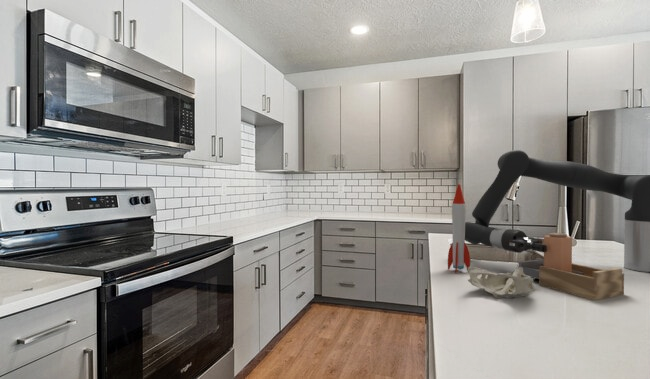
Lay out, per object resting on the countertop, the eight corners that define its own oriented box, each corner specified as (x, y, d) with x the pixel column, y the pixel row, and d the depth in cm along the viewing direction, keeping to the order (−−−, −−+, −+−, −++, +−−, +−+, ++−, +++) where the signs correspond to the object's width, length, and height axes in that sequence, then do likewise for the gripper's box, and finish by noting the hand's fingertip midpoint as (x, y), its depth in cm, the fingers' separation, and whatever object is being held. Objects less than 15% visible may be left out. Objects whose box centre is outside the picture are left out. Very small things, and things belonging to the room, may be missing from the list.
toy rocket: (460, 268, 118) (461, 184, 118) (470, 272, 112) (471, 183, 112) (446, 269, 117) (447, 183, 117) (455, 273, 111) (456, 183, 111)
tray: (539, 270, 111) (540, 259, 111) (582, 280, 99) (582, 268, 99) (518, 273, 107) (518, 261, 107) (560, 284, 95) (560, 271, 95)
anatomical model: (456, 264, 88) (495, 249, 105) (456, 298, 89) (495, 278, 105) (518, 276, 77) (550, 257, 94) (518, 315, 78) (550, 290, 94)
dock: (567, 280, 104) (567, 257, 104) (623, 294, 90) (624, 268, 90) (539, 284, 99) (539, 261, 99) (594, 300, 86) (594, 273, 85)
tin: (554, 273, 104) (554, 232, 104) (571, 277, 99) (572, 234, 99) (543, 275, 102) (544, 233, 102) (560, 279, 97) (561, 235, 97)
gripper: (493, 229, 113) (539, 236, 98) (522, 228, 118) (570, 234, 104) (492, 251, 113) (539, 262, 98) (522, 249, 119) (570, 258, 104)
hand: (555, 247), depth 101 cm, fingers open, 8 cm apart
